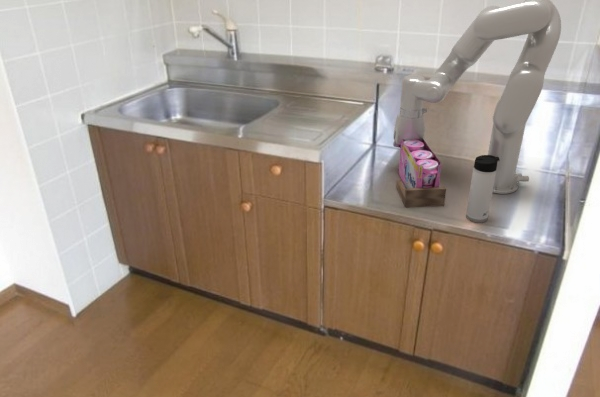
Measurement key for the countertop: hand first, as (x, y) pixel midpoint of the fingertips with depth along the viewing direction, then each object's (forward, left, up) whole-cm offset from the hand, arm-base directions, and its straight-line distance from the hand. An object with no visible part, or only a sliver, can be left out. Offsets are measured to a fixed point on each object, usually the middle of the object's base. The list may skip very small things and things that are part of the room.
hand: (406, 161), depth 178 cm
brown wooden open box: (0, +19, -4) cm, 19 cm away
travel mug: (-14, +34, -4) cm, 37 cm away
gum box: (-1, +13, -4) cm, 13 cm away
